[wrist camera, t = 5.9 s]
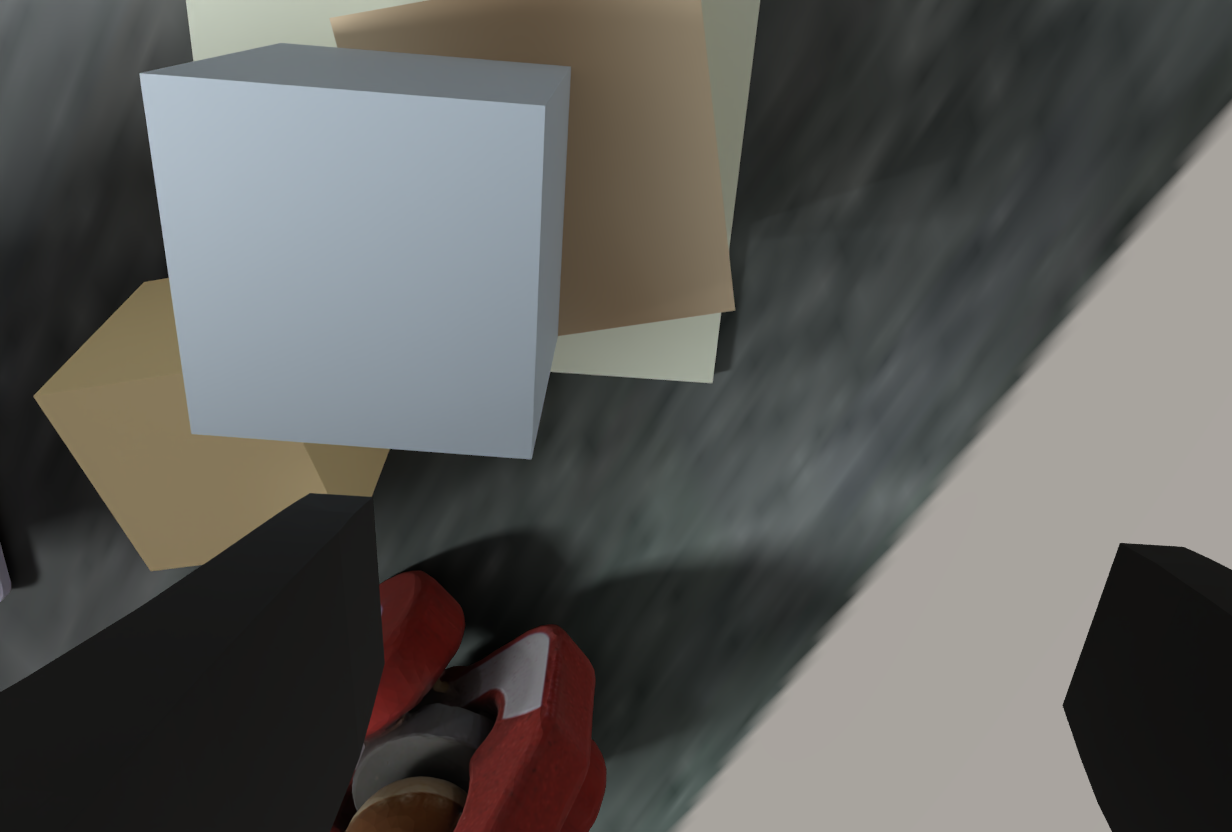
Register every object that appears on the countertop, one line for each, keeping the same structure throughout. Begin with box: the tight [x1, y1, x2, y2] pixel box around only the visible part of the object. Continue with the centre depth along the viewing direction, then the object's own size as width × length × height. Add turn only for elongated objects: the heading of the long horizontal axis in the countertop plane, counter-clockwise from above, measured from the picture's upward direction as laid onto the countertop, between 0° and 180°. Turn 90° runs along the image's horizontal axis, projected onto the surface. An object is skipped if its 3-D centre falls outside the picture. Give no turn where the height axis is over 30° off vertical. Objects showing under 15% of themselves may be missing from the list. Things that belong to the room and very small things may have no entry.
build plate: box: [186, 0, 760, 383], centre depth 17 cm, size 10×8×1 cm
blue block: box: [139, 43, 571, 459], centre depth 12 cm, size 4×4×4 cm
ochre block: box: [33, 278, 390, 571], centre depth 17 cm, size 4×4×4 cm
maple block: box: [329, 0, 735, 336], centre depth 15 cm, size 5×5×4 cm
